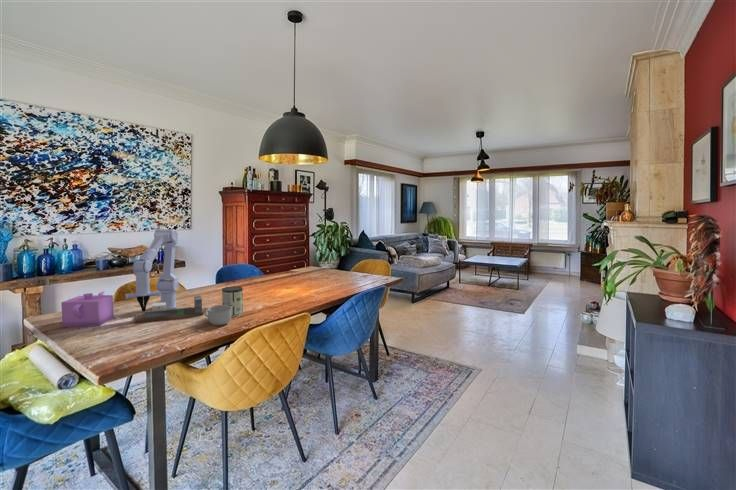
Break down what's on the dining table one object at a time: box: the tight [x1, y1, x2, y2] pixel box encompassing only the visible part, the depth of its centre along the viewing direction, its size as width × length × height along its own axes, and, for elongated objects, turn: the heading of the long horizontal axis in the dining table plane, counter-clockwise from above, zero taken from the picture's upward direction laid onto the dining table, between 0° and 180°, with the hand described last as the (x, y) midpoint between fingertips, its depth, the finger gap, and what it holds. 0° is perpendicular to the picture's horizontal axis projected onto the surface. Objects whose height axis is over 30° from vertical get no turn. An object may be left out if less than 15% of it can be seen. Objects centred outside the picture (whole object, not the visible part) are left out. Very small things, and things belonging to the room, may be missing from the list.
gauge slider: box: [151, 302, 166, 311], centre depth 182 cm, size 9×6×5 cm
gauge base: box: [134, 294, 204, 324], centre depth 185 cm, size 12×30×8 cm, turn 119°
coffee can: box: [221, 286, 244, 318], centre depth 190 cm, size 10×10×14 cm
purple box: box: [61, 291, 115, 328], centre depth 173 cm, size 15×25×14 cm, turn 10°
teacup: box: [202, 304, 232, 327], centre depth 175 cm, size 14×11×8 cm
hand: (143, 311), depth 180 cm, fingers closed
